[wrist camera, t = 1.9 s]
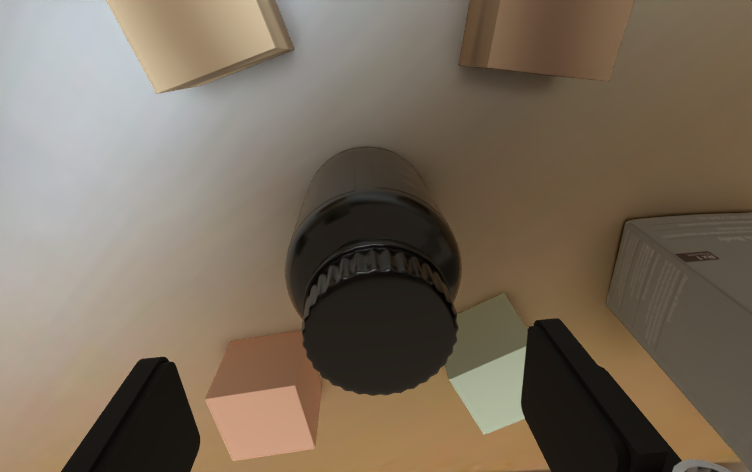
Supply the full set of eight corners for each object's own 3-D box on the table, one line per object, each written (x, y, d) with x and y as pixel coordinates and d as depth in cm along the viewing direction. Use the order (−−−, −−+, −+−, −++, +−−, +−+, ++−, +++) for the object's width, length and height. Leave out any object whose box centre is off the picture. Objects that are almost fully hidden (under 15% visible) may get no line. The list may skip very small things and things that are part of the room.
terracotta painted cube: (305, 328, 26) (294, 385, 22) (322, 385, 28) (315, 448, 24) (231, 340, 27) (204, 399, 22) (252, 396, 29) (232, 460, 24)
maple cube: (248, -70, 18) (210, -113, 13) (294, 49, 20) (275, 47, 15) (147, -27, 18) (76, -54, 14) (202, 85, 20) (156, 93, 16)
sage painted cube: (503, 291, 26) (534, 342, 21) (530, 345, 28) (563, 402, 23) (433, 324, 27) (449, 379, 22) (464, 374, 29) (484, 435, 24)
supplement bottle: (356, 277, 25) (354, 451, 14) (282, 192, 22) (209, 322, 12) (450, 215, 23) (530, 354, 13) (381, 117, 21) (407, 183, 10)
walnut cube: (583, -40, 19) (656, -72, 14) (553, 75, 21) (609, 81, 16) (478, -55, 18) (518, -91, 14) (458, 64, 20) (487, 67, 16)
